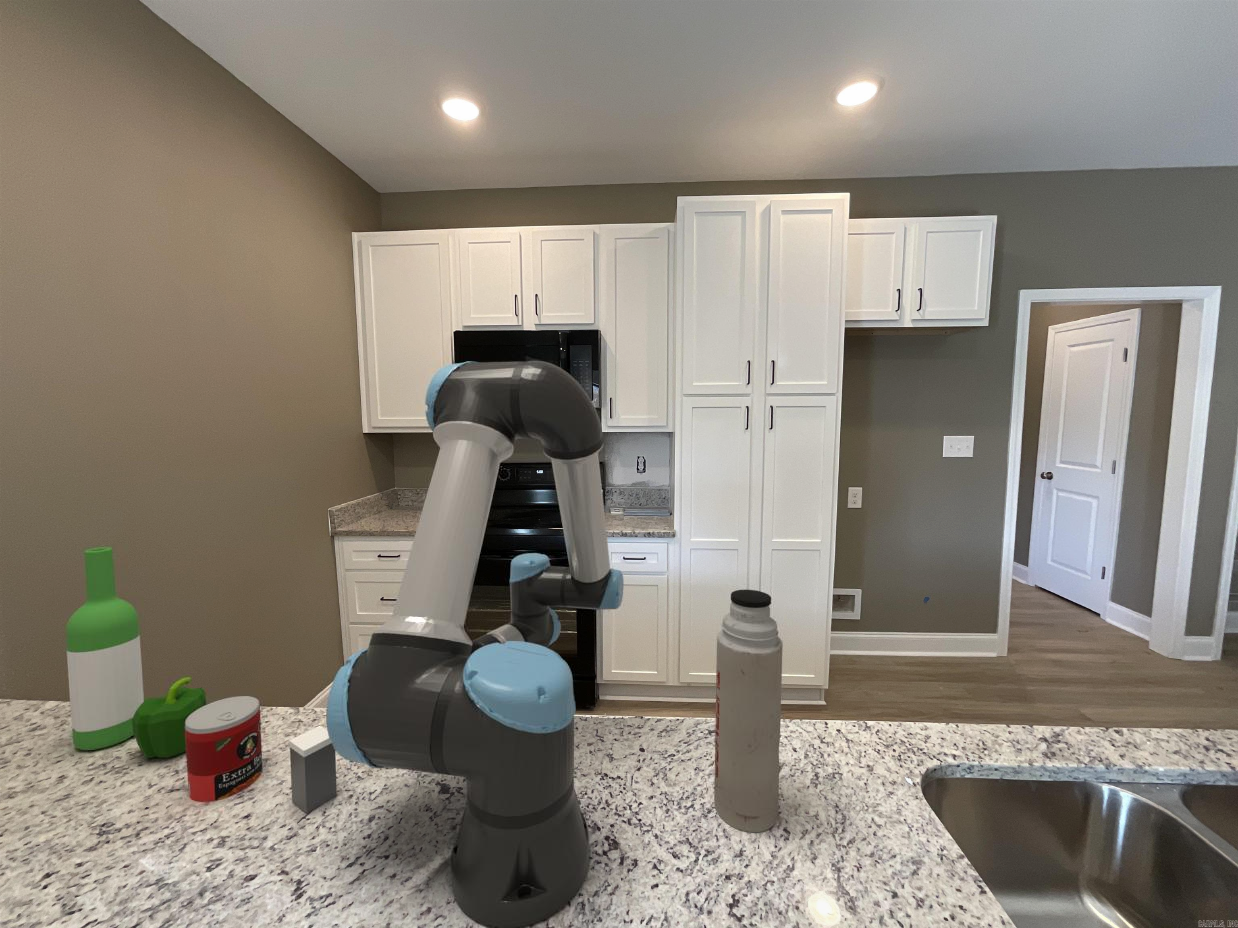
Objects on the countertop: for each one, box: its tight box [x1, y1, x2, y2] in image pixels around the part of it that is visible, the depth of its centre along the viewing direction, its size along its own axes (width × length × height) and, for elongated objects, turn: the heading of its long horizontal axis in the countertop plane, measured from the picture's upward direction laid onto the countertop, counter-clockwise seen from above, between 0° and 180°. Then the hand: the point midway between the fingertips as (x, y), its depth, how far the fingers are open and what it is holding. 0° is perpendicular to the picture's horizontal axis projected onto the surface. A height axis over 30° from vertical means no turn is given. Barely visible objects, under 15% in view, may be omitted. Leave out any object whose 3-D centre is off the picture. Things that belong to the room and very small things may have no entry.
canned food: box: [185, 695, 263, 803], centre depth 64 cm, size 8×8×11 cm
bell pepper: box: [132, 677, 207, 759], centre depth 72 cm, size 8×8×10 cm
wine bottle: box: [65, 546, 145, 751], centre depth 74 cm, size 8×8×30 cm
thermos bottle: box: [713, 589, 784, 833], centre depth 61 cm, size 8×8×28 cm
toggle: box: [288, 725, 338, 815], centre depth 61 cm, size 4×4×8 cm
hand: (367, 722), depth 67 cm, fingers closed
